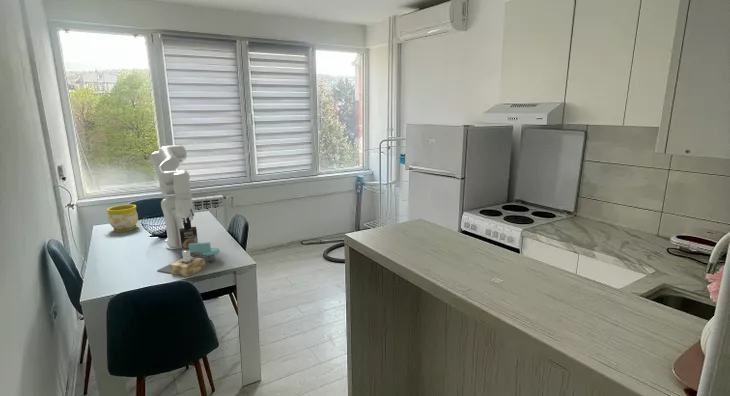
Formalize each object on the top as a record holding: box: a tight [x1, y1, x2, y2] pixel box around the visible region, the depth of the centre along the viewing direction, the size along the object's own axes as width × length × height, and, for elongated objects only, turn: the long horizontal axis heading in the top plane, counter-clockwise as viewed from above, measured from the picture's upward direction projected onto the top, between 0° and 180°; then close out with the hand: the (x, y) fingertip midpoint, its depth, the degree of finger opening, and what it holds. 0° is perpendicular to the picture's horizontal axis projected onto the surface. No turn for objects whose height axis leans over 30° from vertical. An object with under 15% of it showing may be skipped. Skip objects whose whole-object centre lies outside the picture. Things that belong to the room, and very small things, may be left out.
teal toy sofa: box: [188, 241, 220, 263], centre depth 209 cm, size 16×9×11 cm, turn 100°
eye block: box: [170, 256, 206, 277], centre depth 199 cm, size 12×12×5 cm
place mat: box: [157, 263, 172, 274], centre depth 201 cm, size 9×9×1 cm
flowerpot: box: [106, 203, 139, 233], centre depth 268 cm, size 18×18×16 cm
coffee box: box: [179, 226, 200, 257], centre depth 219 cm, size 9×6×16 cm
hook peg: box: [181, 250, 192, 264], centre depth 198 cm, size 4×4×11 cm
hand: (187, 229), depth 199 cm, fingers closed
